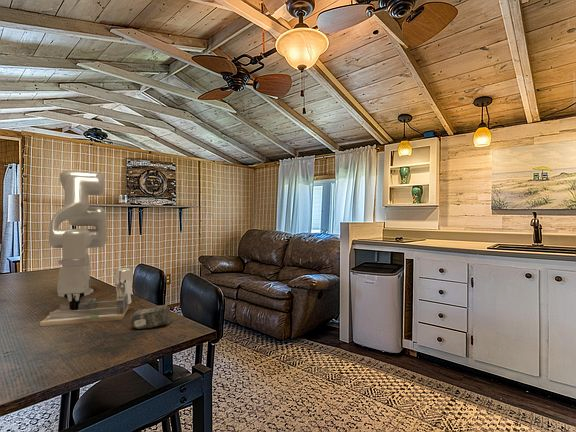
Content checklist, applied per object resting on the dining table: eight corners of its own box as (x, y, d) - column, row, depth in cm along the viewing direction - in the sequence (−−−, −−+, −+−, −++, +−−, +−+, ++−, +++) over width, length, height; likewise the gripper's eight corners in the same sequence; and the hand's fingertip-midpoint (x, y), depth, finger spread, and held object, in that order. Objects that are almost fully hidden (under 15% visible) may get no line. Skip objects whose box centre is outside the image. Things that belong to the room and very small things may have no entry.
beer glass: (135, 303, 144) (135, 269, 144) (118, 306, 139) (118, 271, 139) (128, 300, 149) (128, 267, 149) (112, 303, 144) (112, 269, 144)
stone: (143, 344, 111) (128, 319, 109) (139, 340, 117) (125, 317, 115) (179, 319, 119) (165, 295, 117) (174, 317, 124) (161, 294, 123)
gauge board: (57, 312, 131) (57, 296, 131) (128, 307, 139) (128, 292, 138) (40, 326, 115) (40, 308, 115) (121, 319, 123) (121, 302, 123)
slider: (84, 308, 130) (84, 297, 130) (96, 308, 131) (96, 296, 131) (75, 318, 119) (75, 305, 119) (87, 317, 120) (87, 305, 120)
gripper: (47, 265, 119) (47, 315, 120) (93, 263, 124) (94, 312, 124) (55, 262, 127) (55, 309, 127) (99, 260, 131) (99, 306, 131)
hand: (74, 310), depth 126 cm, fingers closed
